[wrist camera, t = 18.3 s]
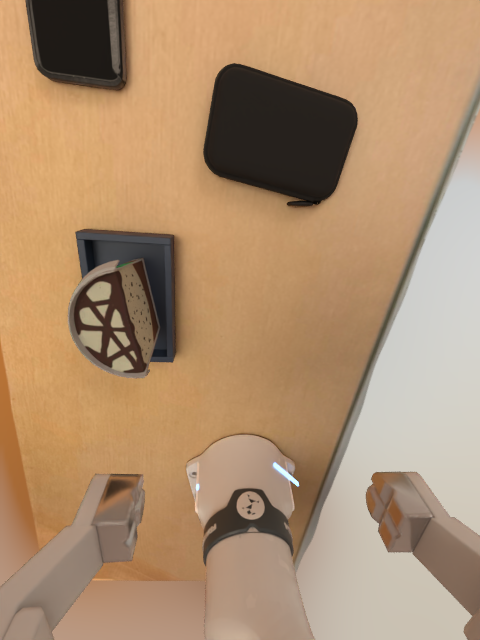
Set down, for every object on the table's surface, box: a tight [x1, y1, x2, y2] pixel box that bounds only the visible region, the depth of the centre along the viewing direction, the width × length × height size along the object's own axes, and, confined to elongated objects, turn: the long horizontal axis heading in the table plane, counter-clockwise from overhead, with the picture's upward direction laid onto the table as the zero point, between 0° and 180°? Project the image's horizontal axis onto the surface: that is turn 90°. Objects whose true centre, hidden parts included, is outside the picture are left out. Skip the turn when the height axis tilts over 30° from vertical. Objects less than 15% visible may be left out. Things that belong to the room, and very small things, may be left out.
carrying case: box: [203, 63, 358, 207], centre depth 30 cm, size 11×3×15 cm
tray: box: [76, 229, 176, 362], centre depth 36 cm, size 16×10×2 cm, turn 175°
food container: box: [68, 258, 160, 378], centre depth 32 cm, size 12×6×10 cm, turn 6°
